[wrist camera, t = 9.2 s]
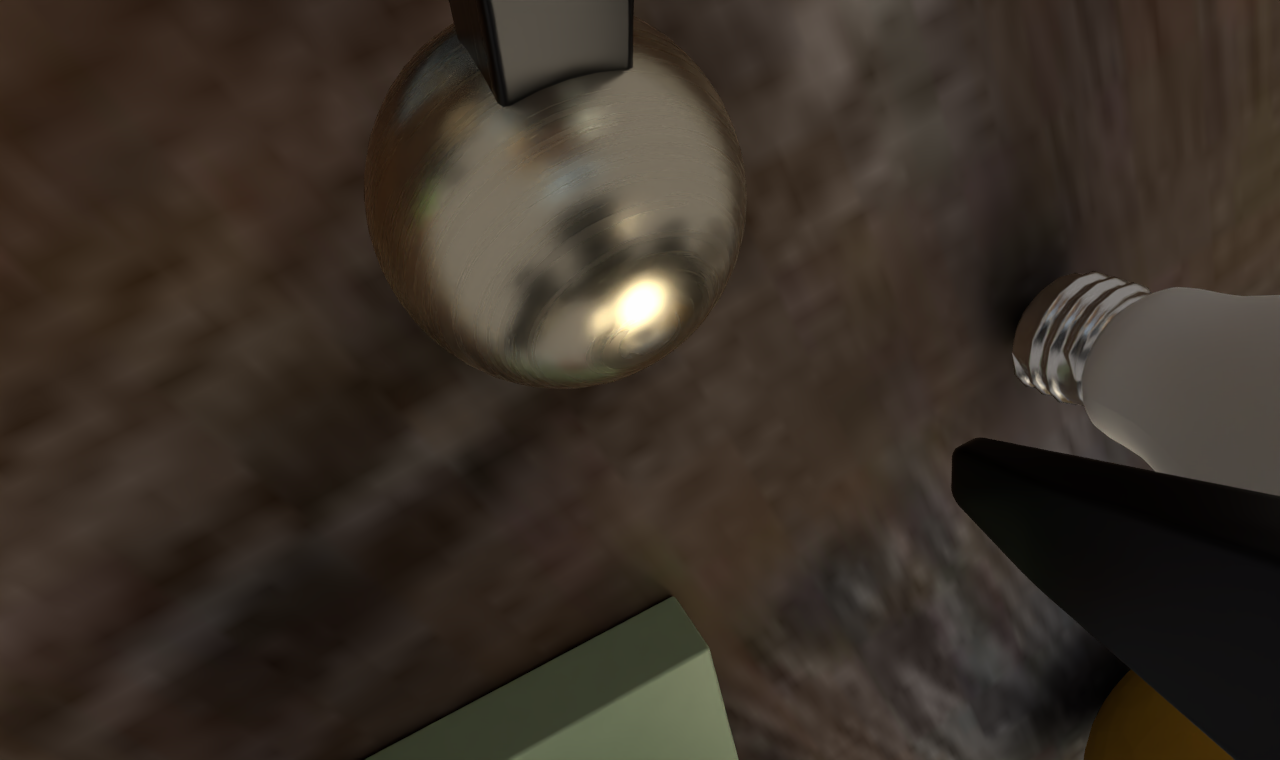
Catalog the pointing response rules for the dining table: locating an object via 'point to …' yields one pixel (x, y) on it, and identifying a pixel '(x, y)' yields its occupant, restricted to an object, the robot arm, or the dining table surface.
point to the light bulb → (1163, 372)
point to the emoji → (1146, 728)
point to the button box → (596, 703)
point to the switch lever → (555, 191)
